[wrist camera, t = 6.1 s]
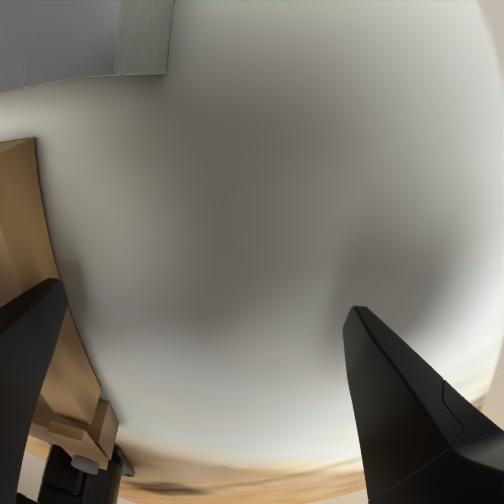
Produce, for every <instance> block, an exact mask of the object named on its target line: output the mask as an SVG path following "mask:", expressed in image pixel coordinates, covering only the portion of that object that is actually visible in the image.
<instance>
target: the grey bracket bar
mask: <svg viewBox="0 0 504 504" xmlns="http://www.w3.org/2000/svg"><path fill="white" fill-rule="evenodd" d="M173 7H174V0H0V94H1V93H5V92H9V91H13V90H17V89H22V88H27V87H31V86H37V85H42V84H48V83H53V82H60V81H66V80H74V79H81V78H90V77H105V76H127V75H166V70H167V59H168V49H169V39H170V30H171V22H172V14H173Z"/></svg>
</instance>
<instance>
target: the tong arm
mask: <svg viewBox="0 0 504 504" xmlns="http://www.w3.org/2000/svg"><path fill="white" fill-rule="evenodd" d="M47 278H58V279H60V278H59V275H58V271H57V267H56V264H55V260H54V256H53V252H52V248H51V244H50V239H49V235H48V230H47V226H46V221H45V216H44V211H43V205H42V199H41V193H40V187H39V180H38V173H37V165H36V156H35V146H34V138H26V139H19V140H13V141H6V142H0V307H2V306H3V305H5V304H6V303H8V302H10V301H11V300H13V299H14V298H16V297H17V296H19V295H21V294H22V293H24V292H26V291H27V290H29V289H30V288H32V287H34V286H35V285H37V284H39V283H40V282H42V281H44V280H45V279H47ZM40 393H41V394H42V396H43V397H44V399H45V400H46V401H47V403H48V404H49V406H50V407H51V408H52V410H53V411H54V413H55V414H56V415H57V417H60V418H63V419H67V420H70V421H74V422H78V423H82V424H86V425H90V426H91V424H92V420H93V417H94V413H95V410H96V406H97V403H98V400H99V397H100V393H101V387H100V385H99V383H98V381H97V379H96V377H95V374H94V372H93V370H92V367H91V365H90V363H89V360H88V358H87V356H86V353H85V351H84V348H83V346H82V343H81V341H80V338H79V335H78V333H77V330H76V327H75V324H74V322H73V319H72V316H71V313H70V310H69V307H68V306H67V310H66V313H65V317H64V320H63V323H62V327H61V330H60V334H59V338H58V341H57V345H56V348H55V351H54V354H53V357H52V360H51V362H50V365H49V368H48V371H47V374H46V377H45V380H44V383H43V386H42V389H41V392H40ZM47 431H48V433H49V434H50V435H51V436H52V437H53V438H54V439H55V440H56V441H57V443H58V444H59V445H60V446H61V447H62V448H63V449H64V450H65V451H66V452H67V453H68V454H69V455H70V456H71V457H72V462H71V465H72V466H73V467H75V468H77V469H79V470H81V471H83V472H86V473H90V474H97V473H98V468H101V469H105V470H107V466H108V461H109V460H108V459H107V458H106V457H105V456H104V454H103V453H102V452H101V451H100V449H99V448H98V447H97V445H96V444H95V443H94V442H93V440H92V439H91V438H90V436H89V435H88V434H87V432H86V431H85V430H83V429H80V428H76V427H72V426H68V425H65V424H61V423H58V422H55V421H50V424H49V427H48V430H47Z"/></svg>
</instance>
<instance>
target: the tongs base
mask: <svg viewBox="0 0 504 504" xmlns="http://www.w3.org/2000/svg"><path fill="white" fill-rule="evenodd" d="M50 421H55V422H58V423H61V424H65V425H68V426H72V427H76V428H80V429H83V430H85V431H86V432H87V434H88V435H89V436H90V438H91V439H92V440H93V442H94V443H95V444H96V445H97V447H98V448H99V449H100V451H101V452H102V453H103V454H104V456H105V457H106V458H107V459H109V460H111V457H112V452H113V448H114V443H115V438H116V434H117V430H118V425H119V422H118V420H117V418H116V416H115V414H114V412H113V409H112V407H111V405H110V403H109V402H106V401H101V400H98V403H97V406H96V410H95V413H94V417H93V420H92V424H91V426H90V425H86V424H82V423H78V422H74V421H70V420H67V419H63V418H60V417H57V415H56V414H55V413H54V411H53V410H52V408H51V407H50V406H49V404H48V403H47V401H46V400H45V399H44V397H43V396H42V394H41V393H40V395H39V398H38V402H37V405H36V409H35V412H34V415H33V419H32V423H31V427H30V430H29V434H28V435H30V436H33V437H36V438H38V439H41V440H44V441H47V442H50V443H53V444H56V445H59V444H58V443H57V441H56V440H55V439H54V438H53V437H52V436H51V435H50V434H49V433H48V431H47V430H48V427H49V424H50ZM59 446H60V445H59Z"/></svg>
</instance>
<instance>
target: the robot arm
mask: <svg viewBox="0 0 504 504" xmlns="http://www.w3.org/2000/svg"><path fill="white" fill-rule="evenodd" d="M67 306H68V300H67V296H66V293H65V290H64V286H63V283H62V281H61V280H60V279H58V278H47V279H45V280H44V281H42V282H40V283H39V284H37V285H35V286H34V287H32V288H30V289H29V290H27V291H26V292H24V293H22V294H21V295H19V296H17V297H16V298H14V299H13V300H11V301H10V302H8V303H6V304H5V305H3V306H2V307H0V504H117V498H118V492H119V486H120V480H121V475H123V476H128V477H134V474H135V472H134V471H133V469H132V468H131V466H130V465H129V463H128V462H127V460H126V459H125V457H124V456H123V454H122V453H121V451H120V450H119V448H118V447H116V446H114V448H113V452H112V457H111V460H109V459H108V460H109V461H108V466H107V470H105V469H101V468H98V473H97V474H90V473H86V472H83V471H81V470H79V469H77V468H75V467H73V466H72V465H71V462H72V457H71V456H70V455H69V454H68V453H67V452H66V451H65V450H64V449H63V448H62V447H61V446H59V445H56V444H53V443H50V442H49V443H50V444H51V448H50V451H49V454H48V458H47V461H46V465H45V469H44V472H43V476H42V482H41V486H40V490H39V494H38V499H37V502H35V501H33V500H31V499H29V498H27V497H26V496H25V495H23V494H21V493H17V487H18V482H19V476H20V471H21V466H22V460H23V455H24V451H25V447H26V442H27V438H28V434H29V430H30V427H31V423H32V419H33V415H34V412H35V409H36V405H37V402H38V398H39V395H40V392H41V389H42V386H43V383H44V380H45V377H46V374H47V371H48V368H49V365H50V362H51V360H52V357H53V354H54V351H55V348H56V345H57V341H58V338H59V334H60V330H61V327H62V323H63V320H64V317H65V313H66V310H67ZM343 340H344V350H345V360H346V371H347V379H348V384H349V389H350V394H351V399H352V404H353V410H354V415H355V420H356V426H357V431H358V437H359V443H360V449H361V455H362V461H363V468H364V474H365V481H366V488H367V495H368V500H369V501H368V504H504V431H503V430H502V429H501V428H499V427H498V426H497V425H496V424H494V423H493V422H492V421H491V420H490V419H489V418H487V417H486V416H485V415H484V414H483V413H481V412H480V411H479V410H478V409H476V408H475V407H474V406H473V405H472V404H471V403H469V402H468V401H467V400H466V399H465V398H464V397H463V396H461V395H460V394H459V393H458V392H457V391H456V390H455V389H454V388H453V387H452V386H451V385H450V384H449V383H448V382H447V381H446V380H443V378H442V377H441V376H440V375H439V374H438V373H437V372H436V371H435V370H434V369H433V368H432V367H431V366H430V365H429V364H428V363H427V362H426V361H425V360H424V359H422V358H421V357H420V356H419V355H418V354H417V353H416V352H415V351H414V350H413V349H412V348H411V347H410V346H409V345H408V344H406V343H405V342H404V341H403V340H402V339H401V338H400V337H399V336H398V335H397V334H396V333H395V332H394V331H392V330H391V329H390V328H389V327H388V326H387V325H386V324H385V323H384V322H383V321H382V320H380V319H379V318H378V317H377V316H376V315H375V314H374V313H373V312H372V311H371V310H369V309H368V308H367V307H366V306H352V307H351V309H350V311H349V314H348V316H347V318H346V321H345V323H344V326H343Z"/></svg>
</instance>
